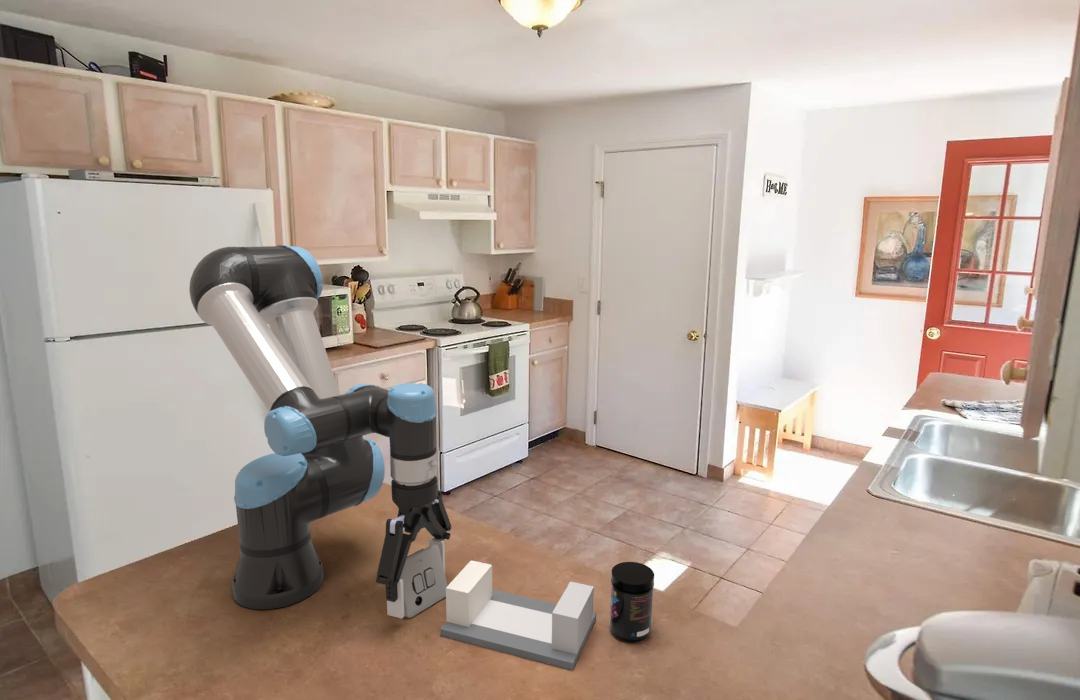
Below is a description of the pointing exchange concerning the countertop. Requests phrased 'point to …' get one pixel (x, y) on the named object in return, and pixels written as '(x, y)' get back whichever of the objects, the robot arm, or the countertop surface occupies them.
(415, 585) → the electrical switch
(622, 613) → the supplement container
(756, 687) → the countertop surface
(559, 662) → the rail plate
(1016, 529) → the countertop surface
